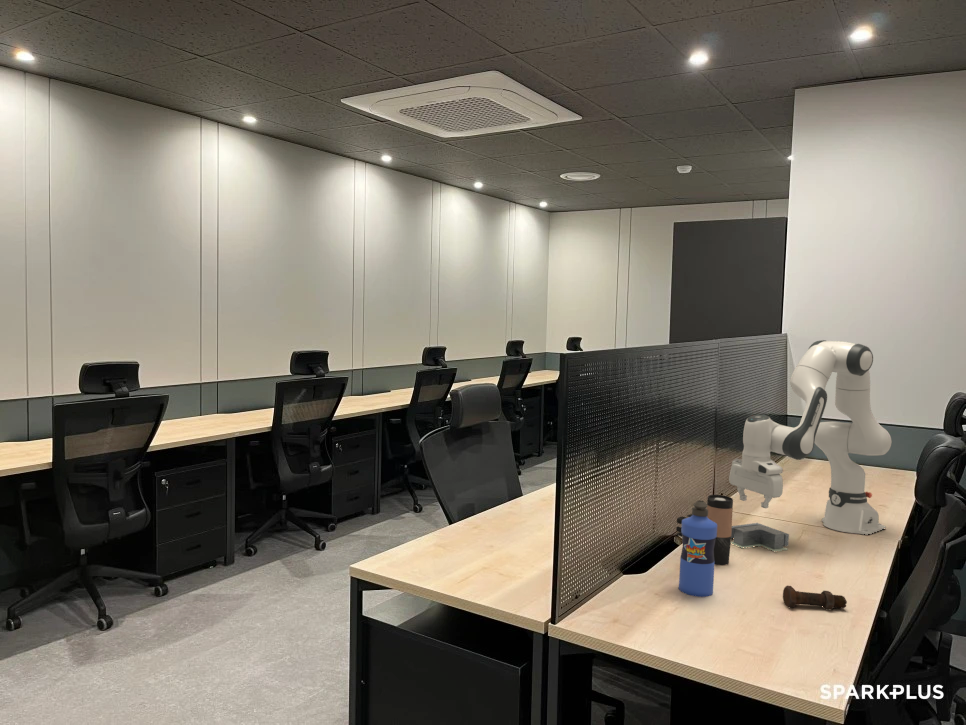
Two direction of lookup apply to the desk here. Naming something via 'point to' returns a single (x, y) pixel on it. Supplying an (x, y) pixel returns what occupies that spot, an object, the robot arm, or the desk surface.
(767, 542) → the bracket
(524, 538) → the desk surface
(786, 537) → the corner walls
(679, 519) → the end cap
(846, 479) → the robot arm
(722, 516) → the travel mug
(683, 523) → the water bottle
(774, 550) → the mat
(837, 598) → the bolt
